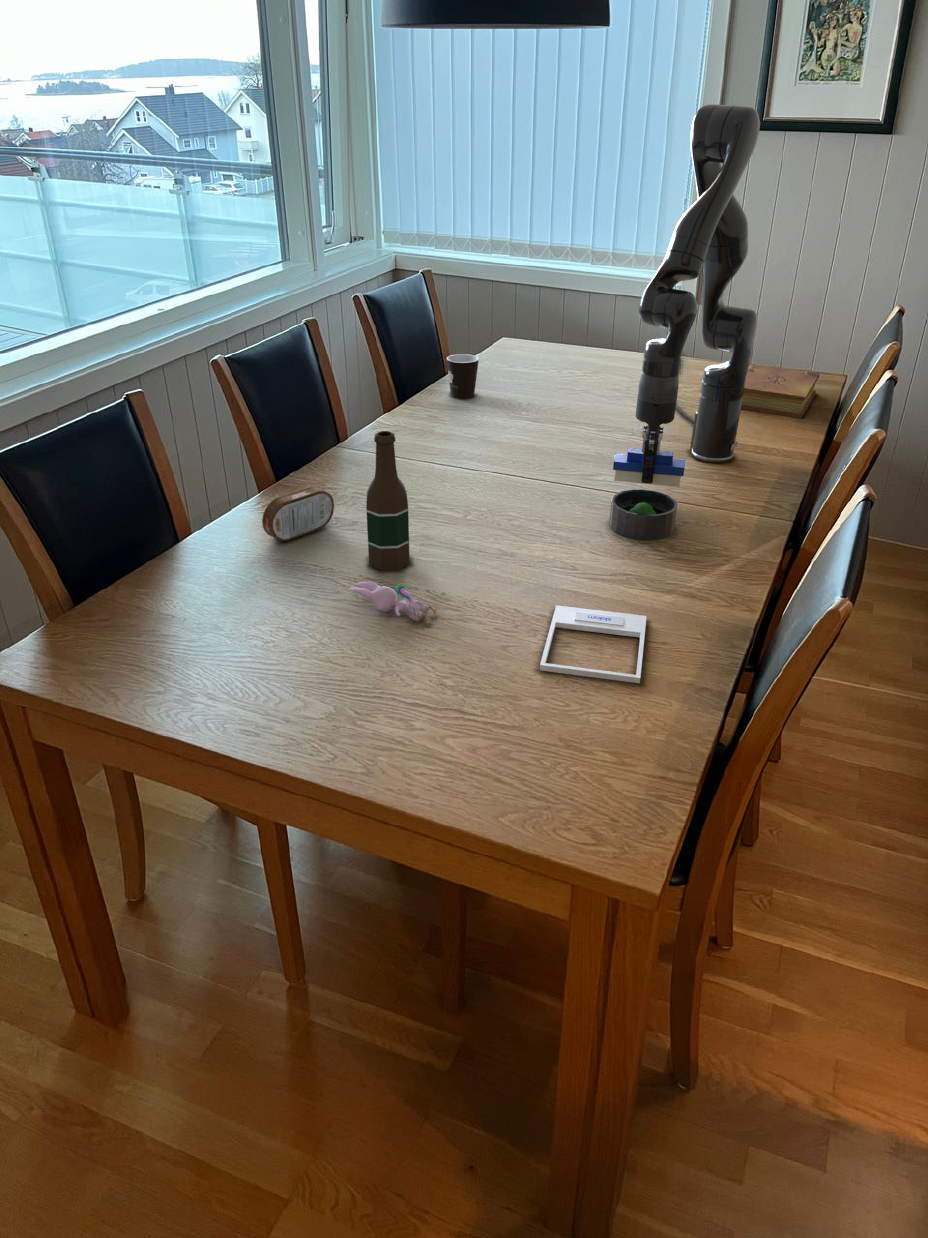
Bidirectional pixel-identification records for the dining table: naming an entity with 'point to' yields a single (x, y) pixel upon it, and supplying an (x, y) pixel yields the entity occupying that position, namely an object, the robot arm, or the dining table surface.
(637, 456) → the brush
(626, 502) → the bowl
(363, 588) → the rabbit figure
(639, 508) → the broccoli floret
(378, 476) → the beer bottle
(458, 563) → the dining table surface
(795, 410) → the diary
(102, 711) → the dining table surface
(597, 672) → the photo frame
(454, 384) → the coffee mug
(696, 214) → the robot arm
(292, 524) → the tin
